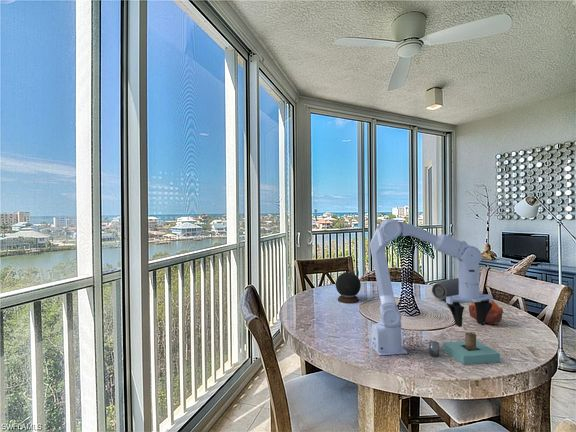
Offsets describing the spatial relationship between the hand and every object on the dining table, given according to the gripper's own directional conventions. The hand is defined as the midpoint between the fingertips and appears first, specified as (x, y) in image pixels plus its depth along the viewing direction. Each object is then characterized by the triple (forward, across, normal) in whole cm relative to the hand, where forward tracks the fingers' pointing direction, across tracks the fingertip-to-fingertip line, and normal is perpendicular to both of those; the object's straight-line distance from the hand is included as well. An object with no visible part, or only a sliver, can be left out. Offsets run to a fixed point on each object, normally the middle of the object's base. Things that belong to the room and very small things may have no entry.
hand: (469, 325), depth 97 cm
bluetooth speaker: (+10, +36, +61) cm, 72 cm away
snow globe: (+10, -19, +67) cm, 70 cm away
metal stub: (+10, -11, +2) cm, 15 cm away
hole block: (+10, 0, 0) cm, 10 cm away
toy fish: (+10, +26, +25) cm, 37 cm away
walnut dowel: (+10, 0, 0) cm, 10 cm away
